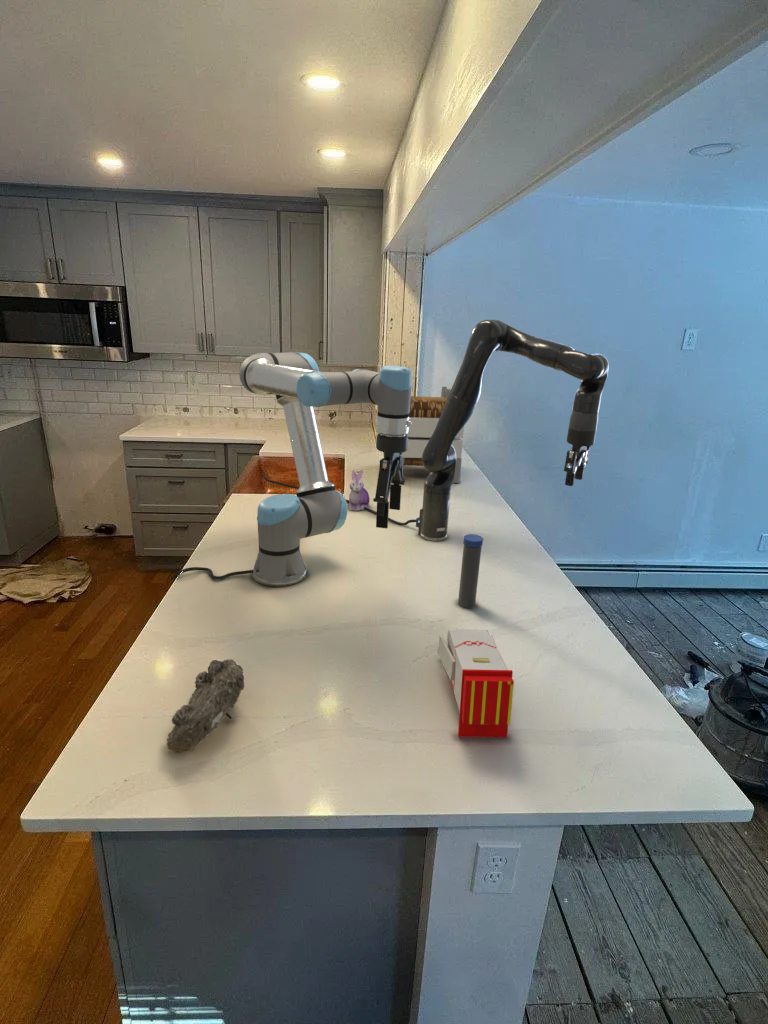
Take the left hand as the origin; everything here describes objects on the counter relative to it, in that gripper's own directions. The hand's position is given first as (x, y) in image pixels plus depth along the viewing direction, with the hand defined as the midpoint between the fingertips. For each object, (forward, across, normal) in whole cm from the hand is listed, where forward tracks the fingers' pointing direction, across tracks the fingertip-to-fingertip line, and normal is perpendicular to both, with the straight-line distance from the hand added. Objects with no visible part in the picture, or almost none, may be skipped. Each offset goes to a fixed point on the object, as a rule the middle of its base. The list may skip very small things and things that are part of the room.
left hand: (388, 518), depth 141 cm
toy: (+25, -28, -26) cm, 46 cm away
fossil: (+25, -51, +21) cm, 60 cm away
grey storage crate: (+26, +133, +15) cm, 136 cm away
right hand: (-4, +38, -46) cm, 60 cm away
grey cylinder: (+26, +10, -21) cm, 34 cm away
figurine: (+26, +74, +29) cm, 84 cm away
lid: (+7, +10, -21) cm, 24 cm away
